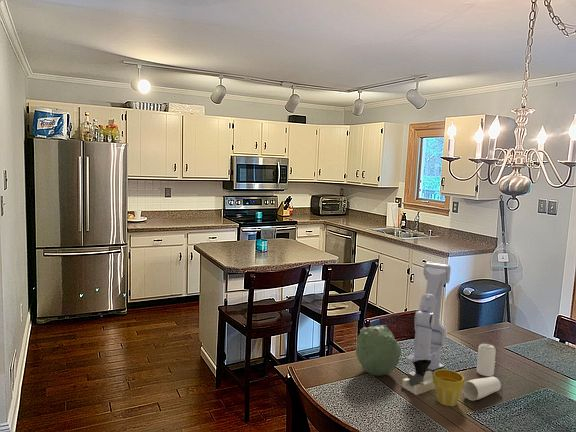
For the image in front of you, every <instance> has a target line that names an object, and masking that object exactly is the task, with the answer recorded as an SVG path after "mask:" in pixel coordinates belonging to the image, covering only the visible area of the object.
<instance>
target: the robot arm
mask: <svg viewBox="0 0 576 432" xmlns="http://www.w3.org/2000/svg"><path fill="white" fill-rule="evenodd" d="M451 268H452V267H451V265H450V264H445V263H443V264H442V263H436V262H431V261H425V263H424V265H423V276H424V279H425V280H426V281H427V282H426V289H425V294H423V295H422V296H421V297H420V302H419V307H418V311H415V314H414V331H415V334H414V344H413V345H414V346H413V347H414V348H413V352H412V353H411V354H409V356H406V357H405V363H407V364H409V365H411V364H413V366H414V370H415V372H416V373H418V374H420V375H422V376H423V378H424V375H425V372H427V371H428V370H429V371H433V370H434V371H435V370H439V369H441V368H443V367H445V364H442V363H441V353H442V352H441V351H442V347H443V346H445V345H446V336H447V335H446V332H447V329H446V326H444V325H443V324H442V322H441V320H440V319H441V310H442V302H443V301H442V300H443V291H444V290H443V289H444V286H445V285H446V284H449V282H450V277H451V271H452V269H451ZM427 369H428V370H427Z"/></svg>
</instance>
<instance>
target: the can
mask: <svg viewBox="0 0 576 432" xmlns="http://www.w3.org/2000/svg"><path fill="white" fill-rule="evenodd" d="M477 350H478V351H477V361H476V373H477V374H479V376H483V377H485V378H487V377H491V376H493V377H494V373H495V367H496V366H495V365H496V346H495V345H494V344H492V343H490V342H480V343H479V346H478V348H477Z"/></svg>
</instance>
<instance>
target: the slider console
mask: <svg viewBox="0 0 576 432" xmlns="http://www.w3.org/2000/svg"><path fill="white" fill-rule="evenodd" d="M433 373H434V371H432V370H426V372H425V375H424V378H423V382H421V383H419V384H417V385H414V387H413V386H411V385H410V379H408V378H407V377H405V378H403V379H402V382H401V384H402V385H401V387H402V388H403V389H405V390H407V391H409V392H410V393H412V394H413V395H415V396H419V395H421V394H424V393H426V392H429V391H431V390H435V385H434V383H433Z"/></svg>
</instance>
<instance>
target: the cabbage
mask: <svg viewBox="0 0 576 432" xmlns="http://www.w3.org/2000/svg"><path fill="white" fill-rule="evenodd" d="M359 332H360V333H359V334H358V335H356V346H355V355H356V359H357V361H358V363H359V364H360V365H361V366H362V368H363V369H364V371H365V372H367V373H369V374H371V375H372V376H376V377H377V376H378V377H381V376H384V375H389V374H391V372H392V371H393V372H394V370H395V369H396V366H397V365H398V364H399V361H400V358H401V352H402V350H401V349H402V348H401V345H400V344H399V342H397V341H398V340H396V339H395V337H394V334H393V332H392V331H391V330H390V328H389V327H388V326H387V325H386V324H377V325H375V326H374V325H371V326H368V327H365V326H364V327H362V328H360V330H359Z"/></svg>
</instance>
